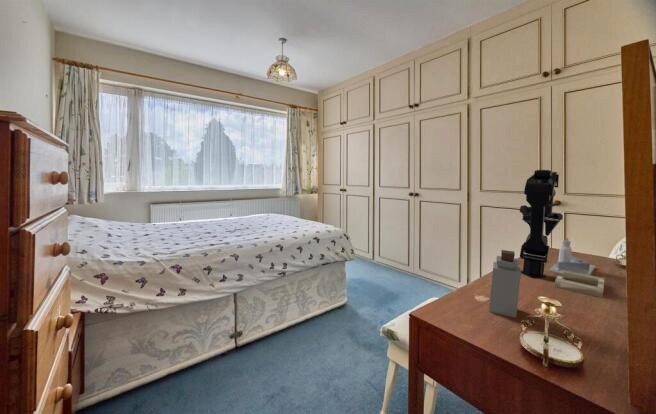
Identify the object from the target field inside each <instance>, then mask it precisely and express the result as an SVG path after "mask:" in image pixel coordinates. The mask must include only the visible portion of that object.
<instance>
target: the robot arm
mask: <svg viewBox="0 0 656 414" xmlns="http://www.w3.org/2000/svg"><path fill="white" fill-rule="evenodd" d="M559 183H560V174H558V172H557V171H552V170H550V169H535V170H534V173H533V174H532V175H531V176H530V177H528V178H527V179H526V182H525V185H524V191H523V193H524V195H525V200H526V202H527V204H528V205H529V206H527V205H524V204H523V205H521V206H520V208H519V213H521V214H522V221H524V223H526V224H527V225H529V231H530V232H529V233H528V235H527V236H526V239H525V241H524V242H523V244H521V247H520V254H519V258H520V259H521V260H523V264H522V265H523V268H522V270H520V271H521V274H523V275H525V276H527V277H530V278H546V277H547V275H546V274H544V271H545V264H547V263H548V259H549V255H550V254H549V253H550V245H548V244H549V243H548V240H549V239H548V236H549V235H551V233H552V232H553V230H554V229H555V228H556V227H557V225H558V224H559V223H560V222H561V221H563V217H564V215H563V214H562V213H560V212H556V211H555V212H553V207H556V203H554V198H555V196H556V193H557V192H556V189H555V188H559ZM544 234H545V235H544Z"/></svg>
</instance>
